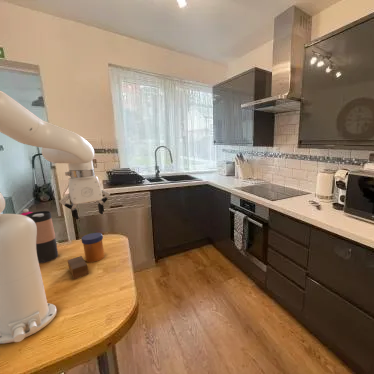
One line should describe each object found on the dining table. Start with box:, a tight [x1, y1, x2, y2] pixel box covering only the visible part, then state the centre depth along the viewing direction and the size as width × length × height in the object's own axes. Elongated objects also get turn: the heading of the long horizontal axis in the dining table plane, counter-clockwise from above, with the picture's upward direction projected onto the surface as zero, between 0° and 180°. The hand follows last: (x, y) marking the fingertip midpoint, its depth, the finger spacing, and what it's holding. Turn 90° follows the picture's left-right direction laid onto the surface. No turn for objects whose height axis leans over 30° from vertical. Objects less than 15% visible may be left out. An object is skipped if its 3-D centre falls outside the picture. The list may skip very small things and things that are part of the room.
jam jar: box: [82, 239, 105, 263], centre depth 92 cm, size 7×7×10 cm
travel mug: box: [25, 210, 59, 264], centre depth 89 cm, size 8×8×20 cm
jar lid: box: [81, 232, 104, 245], centre depth 91 cm, size 7×7×2 cm
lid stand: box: [67, 255, 90, 280], centre depth 82 cm, size 9×4×4 cm, turn 48°
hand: (89, 215), depth 89 cm, fingers open, 7 cm apart
